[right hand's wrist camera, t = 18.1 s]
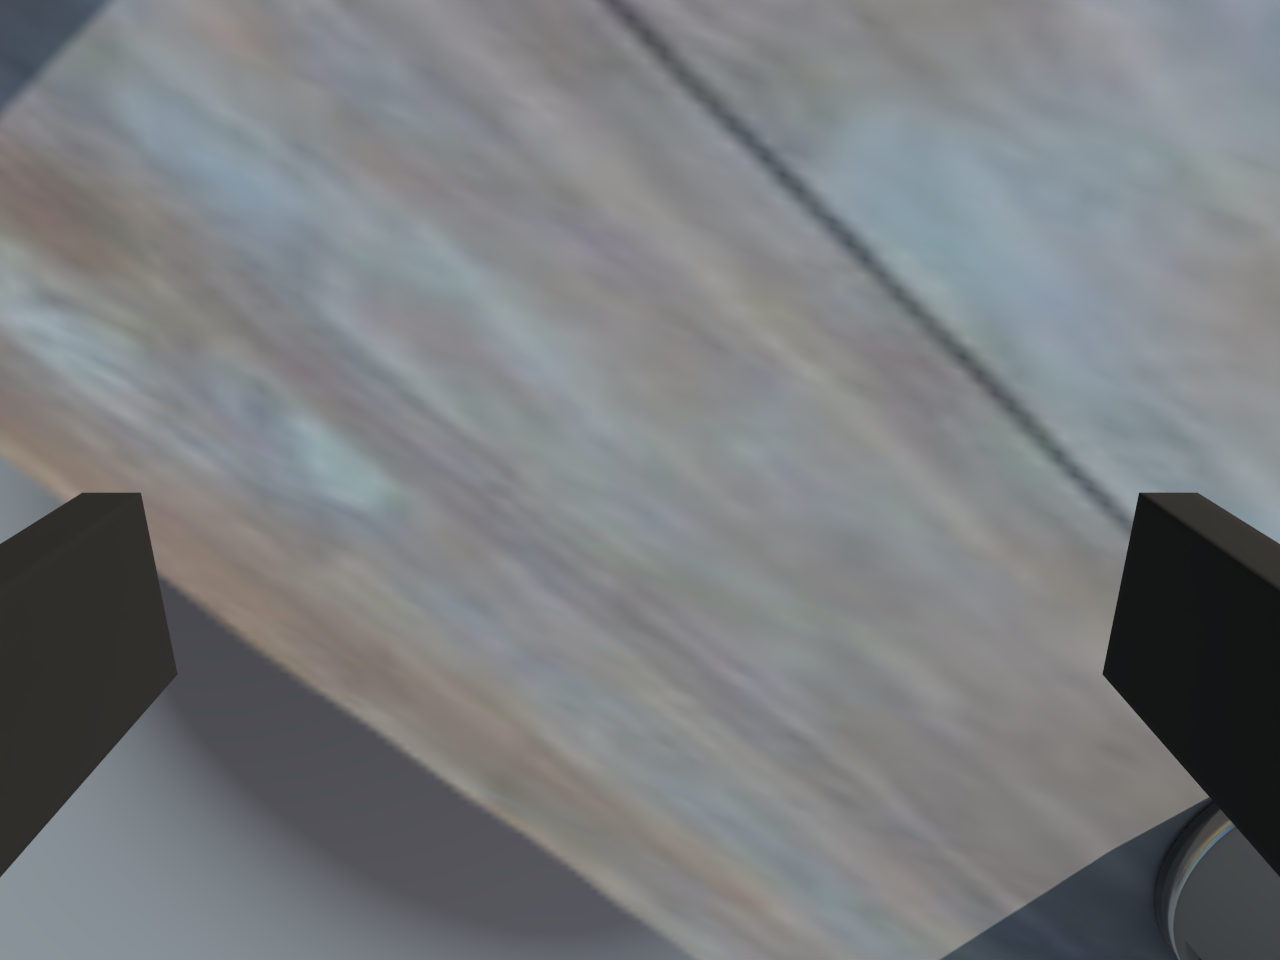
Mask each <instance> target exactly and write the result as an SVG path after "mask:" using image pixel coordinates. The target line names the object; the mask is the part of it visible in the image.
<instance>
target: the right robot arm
mask: <svg viewBox="0 0 1280 960" xmlns="http://www.w3.org/2000/svg"><path fill="white" fill-rule="evenodd" d="M176 675H177V670H176V665H175V660H174V655H173V650H172V645H171V640H170V635H169V630H168V626H167V620H166V616H165V611H164V606H163V601H162V596H161V591H160V586H159V581H158V576H157V571H156V566H155V561H154V556H153V551H152V546H151V541H150V536H149V531H148V526H147V521H146V516H145V511H144V506H143V501H142V496H141V493H81V494H80V495H78V496H77V497H75V498H73V499H72V500H70V501H69V502H67V503H65V504H64V505H62V506H61V507H59V508H57V509H56V510H54V511H53V512H51V513H49V514H48V515H46V516H45V517H43V518H41V519H40V520H38V521H37V522H35V523H33V524H32V525H30V526H29V527H27V528H25V529H24V530H22V531H21V532H19V533H17V534H16V535H14V536H13V537H11V538H9V539H8V540H6V541H5V542H3V543H1V544H0V877H1V876H2V875H3V873H4V872H5V871H6V870H7V869H8V868H9V867H10V865H11V864H12V863H13V862H14V861H15V860H16V859H17V857H18V856H19V855H20V854H21V853H22V852H23V851H24V849H25V848H26V847H27V846H28V845H29V844H30V843H31V841H32V840H33V839H34V838H35V837H36V836H37V834H38V833H39V832H40V831H41V830H42V829H43V828H44V826H45V825H46V824H47V823H48V822H49V821H50V820H51V818H52V817H53V816H54V815H55V814H56V813H57V812H58V810H59V809H60V808H61V807H62V806H63V805H64V804H65V802H66V801H67V800H68V799H69V798H70V797H71V795H72V794H73V793H74V792H75V791H76V790H77V789H78V788H79V786H80V785H81V784H82V783H83V782H84V781H85V780H86V778H87V777H88V776H89V775H90V774H91V773H92V771H93V770H94V769H95V768H96V767H97V766H98V765H99V763H100V762H101V761H102V760H103V759H104V758H105V757H106V755H107V754H108V753H109V752H110V751H111V750H112V749H113V747H114V746H115V745H116V744H117V743H118V742H119V741H120V739H121V738H122V737H123V736H124V735H125V734H126V733H127V731H128V730H129V729H130V728H131V727H132V726H133V725H134V723H135V722H136V721H137V720H138V719H139V718H140V717H141V715H142V714H143V713H144V712H145V711H146V710H147V709H148V707H149V706H150V705H151V704H152V703H153V702H154V700H155V699H156V698H157V697H158V696H159V695H160V694H161V692H162V691H163V690H164V689H165V688H166V687H167V686H168V684H169V683H170V682H171V681H172V680H173V679H174V678H175V676H176ZM1103 675H1104V676H1105V678H1106V679H1107V680H1108V681H1109V682H1110V683H1111V684H1112V686H1113V687H1114V688H1115V689H1116V690H1117V691H1118V692H1119V694H1120V695H1121V696H1122V697H1123V698H1124V699H1125V700H1126V702H1127V703H1128V704H1129V705H1130V706H1131V707H1132V709H1133V710H1134V711H1135V712H1136V713H1137V714H1138V715H1139V717H1140V718H1141V719H1142V720H1143V721H1144V722H1145V723H1146V725H1147V726H1148V727H1149V728H1150V729H1151V730H1152V731H1153V733H1154V734H1155V735H1156V736H1157V737H1158V738H1159V739H1160V741H1161V742H1162V743H1163V744H1164V745H1165V746H1166V747H1167V749H1168V750H1169V751H1170V752H1171V753H1172V754H1173V755H1174V757H1175V758H1176V759H1177V760H1178V761H1179V762H1180V763H1181V765H1182V766H1183V767H1184V768H1185V769H1186V770H1187V772H1188V773H1189V774H1190V775H1191V776H1192V777H1193V778H1194V780H1195V781H1196V782H1197V783H1198V784H1199V785H1200V786H1201V788H1202V789H1203V790H1204V791H1205V792H1206V793H1207V794H1208V796H1209V797H1210V798H1211V799H1212V800H1213V801H1214V803H1213V804H1212V805H1210V806H1209V807H1208V808H1206V809H1205V810H1204V811H1203V812H1202V813H1201V814H1200V815H1199V816H1197V817H1196V818H1195V819H1194V820H1193V821H1192V822H1191V823H1190V824H1189V825H1188V827H1187V828H1186V829H1185V830H1184V831H1183V832H1182V834H1181V835H1180V836H1179V837H1178V839H1177V840H1176V841H1175V843H1174V845H1173V846H1172V848H1171V849H1170V851H1169V853H1168V855H1167V856H1166V858H1165V860H1164V862H1163V865H1162V867H1161V870H1160V873H1159V876H1158V880H1157V884H1156V890H1155V913H1156V918H1157V922H1158V926H1159V928H1160V931H1161V933H1162V935H1163V937H1164V939H1165V941H1166V942H1167V944H1168V945H1169V947H1170V949H1171V950H1172V952H1173V953H1174V955H1175V956H1176V958H1177V959H1178V960H1280V544H1279V543H1277V542H1275V541H1274V540H1272V539H1271V538H1269V537H1267V536H1266V535H1264V534H1263V533H1261V532H1259V531H1258V530H1256V529H1255V528H1253V527H1251V526H1250V525H1248V524H1247V523H1245V522H1243V521H1242V520H1240V519H1239V518H1237V517H1235V516H1234V515H1232V514H1231V513H1229V512H1227V511H1226V510H1224V509H1223V508H1221V507H1219V506H1218V505H1216V504H1215V503H1213V502H1211V501H1210V500H1208V499H1207V498H1205V497H1203V496H1202V495H1200V494H1199V493H1139V496H1138V501H1137V506H1136V511H1135V516H1134V521H1133V526H1132V531H1131V536H1130V541H1129V546H1128V551H1127V556H1126V561H1125V566H1124V571H1123V576H1122V581H1121V586H1120V591H1119V596H1118V601H1117V606H1116V610H1115V615H1114V620H1113V625H1112V630H1111V635H1110V640H1109V645H1108V650H1107V655H1106V660H1105V665H1104V670H1103Z"/></svg>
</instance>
